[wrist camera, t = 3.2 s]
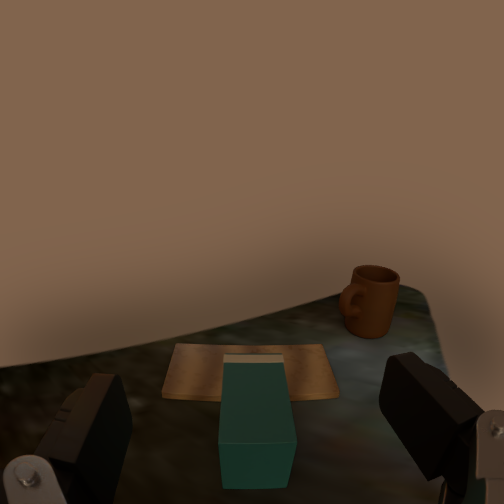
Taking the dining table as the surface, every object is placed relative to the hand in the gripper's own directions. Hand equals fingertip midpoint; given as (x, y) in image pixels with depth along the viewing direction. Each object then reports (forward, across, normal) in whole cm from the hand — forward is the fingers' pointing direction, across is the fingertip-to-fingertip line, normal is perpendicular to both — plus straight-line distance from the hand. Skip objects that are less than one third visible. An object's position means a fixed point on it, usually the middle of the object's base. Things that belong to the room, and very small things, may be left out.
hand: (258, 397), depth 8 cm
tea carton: (+14, -1, +14) cm, 20 cm away
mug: (+33, -19, +17) cm, 42 cm away
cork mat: (+25, -2, +17) cm, 30 cm away
